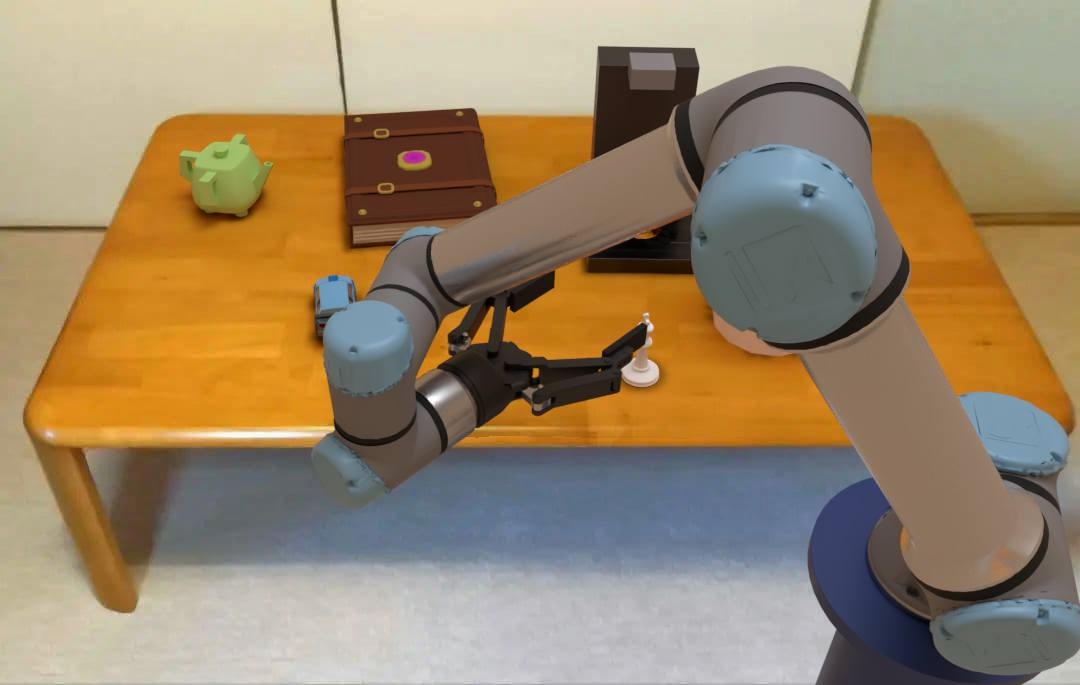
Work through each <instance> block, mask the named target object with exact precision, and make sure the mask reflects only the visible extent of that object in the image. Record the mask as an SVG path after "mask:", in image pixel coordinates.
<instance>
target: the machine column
mask: <svg viewBox="0 0 1080 685" xmlns="http://www.w3.org/2000/svg"><path fill="white" fill-rule="evenodd" d="M596 51H597V52H596V66H595V67H596V68H595V84H594V100H593V101H594V102H593V118H592V119H593V120H592V131H591V132H592V134H591V150H590V161H591V160H593V159H595V158H597V157H599V156H601V155H603V154H605V153H607V152H609V151H612V150H614V149H616V148H618V147H620V146H622V145H624V144H626V143H628V142H630V141H632V140H635V139H637V138H639V137H641V136H643V135H645V134H647V133H649V132H651V131H653V130H656V129H658V128H660V127H662V126H664V125H666V124H668V123H669V120H670V117H671V114H672V111H673V109H674V107H675V106H677V105H679V104H681V103H683V102H685V101H687V100H689V99H691V98H693V97H695V96H697V92H698V91H697V90H698V83H699V76H700V70H701V69H700V68H701V67H700V63H699V58H698V55H697V51H696V48H695V47H672V46H671V47H666V46H665V47H663V46H654V47H653V46H618V45H617V46H616V45H615V46H614V45H613V46H611V45H610V46H609V45H598V46H597V50H596Z"/></svg>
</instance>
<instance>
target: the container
mask: <svg viewBox="0 0 1080 685" xmlns="http://www.w3.org/2000/svg"><path fill="white" fill-rule="evenodd" d="M712 318H713V327H714V328H715V329H716V330H717V331H718V332H719V333H720V334H721V336H722V337H723V338H724V339H725V340H726V342H728V343H729V344H732V345H734V346H736V347H738V348H740V349H742V350H744V351H746V352H748V353H749V354H755V355H756V354H757V355H763V356H770V357H778V358H779V357H783V356H787V355H792V354H794V353H786V352H781V351H778V350H775V349H773V348H771V347H769V346H768V345H766V344H765V343H764V342H763V341H762V339H758V338H757V336H756V335H757V333H755V332H752V331H750V330H746V331H744V332H741V331H739V330H738V329H736V328H734V327H732V326H731V325H729V324H728V323H727V322H725V321H724V320H723V319H722V318H721V317H720V316H719V315H717V314H716V312H715V311H714V310H713V309H712Z"/></svg>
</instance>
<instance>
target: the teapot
mask: <svg viewBox="0 0 1080 685" xmlns="http://www.w3.org/2000/svg"><path fill="white" fill-rule="evenodd" d="M178 159H179V160H178V161H179V176H180V177H181V178H184V179H185V180H186V181H188V182H189V183H191V195H192V200H193V201H194V202H193V203H195V205H196V206H197V207H199V208H200V209H201V210H203V211H204V212H205V213H207V214H214V213H221V214H233V215H235V216H236V217H238V218H241V217H245V216H247V215H248V214H249V211H248V210H249V209H250V208H252V206H253V205H254V204H255V203H256V202H257V200H259V198H260V197H261V193H262V191H263V188H264V187H265V186H266V183H267V181H268V178H269V176H270V173H271V172H272V169H273V167H274V165H275V164H274V162H271V161H267V160H266V161H264V163H263V165H262V164H261V162H260V160H259V159H258V157H257V156H256V154H255V152H254V150H253V149H252V147H250V145H249V142H248V138H247V136H246V134H242V133H236V134H235V135H234V136H233V137H232V138H231V140H230V141H214V142H211V143H209V144H208V145H207V146H205V148H204V149H203V150H201V151H193V150H186V149H183V150H182V151H181V152H180V153H179V158H178ZM192 163H194V164H192Z"/></svg>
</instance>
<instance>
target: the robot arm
mask: <svg viewBox="0 0 1080 685" xmlns="http://www.w3.org/2000/svg"><path fill="white" fill-rule="evenodd" d="M872 154H873V138H872V132H871V127H870V123H869V120H868V117H867V114H866V112H865V110H864V108H863V107H862V105H861V103H860V102H859V100H858V99H857V97H856V95H854V94H853V93H852V92H851V91H850V89H849V88H848V87H847V86H846V85H845V84H843V83H842V82H841V81H840V80H838V79H836V78H834V77H832V76H830V75H828V74H827V73H824V72H823V71H820V70H817V69H813V68H809V67H805V66H796V65H795V66H794V65H782V66H781V65H780V66H773V67H767V68H762V69H758V70H755V71H751V72H748V73H745V74H743V75H740V76H738V77H735V78H732V79H730V80H728V81H726V82H723V83H720V84H718V85H716V86H713V87H712V88H709V89H707V90H705V91H703V92H702V93H699V94H696V96H695V97H693V98H691V99H689V100H687V101H685V102H683V103H681V104H679V105H677V106H675V107H674V109H673V111H672V114H671V117H670V120H669V123H668V124H666V125H664V126H662V127H660V128H658V129H656V130H653V131H651V132H649V133H647V134H645V135H643V136H641V137H639V138H637V139H635V140H632V141H630V142H628V143H626V144H624V145H622V146H620V147H618V148H616V149H614V150H612V151H609V152H607V153H605V154H603V155H601V156H599V157H597V158H595V159H593V160H591V159H590V160H589V161H586V162H584V163H583V164H579V165H578V166H576V167H574V168H572V169H570V170H567V171H565V172H564V173H562V174H560V175H557V176H555V177H553V178H550V179H549V180H546V181H544V182H542V183H540V184H538V185H536V186H534V187H532V188H530V189H528V190H526V191H524V192H521V193H519V194H517V195H514V196H513V197H511V198H509V199H507V200H505V201H503V202H501V203H499V204H498V203H497V205H496V206H494V207H492V208H490V209H488V210H486V211H484V212H482V213H479V214H477V215H475V216H473V217H471V218H469V219H467V220H465V221H463V222H461V223H458V224H456V225H454V226H452V227H450V228H448V229H446V230H443V229H441V228H437V227H423V226H419V227H415V228H412V229H411V230H409V231H407V232H406V233H404V234H403V235H402V236H401V238H400V239H399V240H398V242H397V243H396V244H393V246H392V247H390V250H389V251H388V253H386V255H385V258H384V260H383V263H382V266H381V267H380V269H379V271H378V273H377V275H376V277H375V278H374V280H373V282H372V284H371V286H370V287H369V289H368V290H367V293H366V294H365V296H364V297H363V300H360V301H356V302H355V303H351V304H349V305H347V306H345V308H344V309H343V310H342V311H340V312H335V313H334V314H333V315H332V316H331V317H330V318H329V320H328V321H327V323H326V325H325V328H324V332H323V339H322V342H323V343H322V345H323V353H322V357H323V361H322V362H323V368H324V372H325V374H326V380H327V387H328V391H329V392H328V393H329V398H330V403H331V409H332V414H333V419H332V420H333V429H334V430H333V431H332V432H329V433H326V434H325V436H324V437H322V438H321V439H320V440H319V441H317V442H316V443H315V444H314V446H313V448H312V451H311V452H310V461H311V465H312V468H313V471H314V473H315V476H316V477H317V479H318V481H319V482H320V484H321V486H322V487H323V488H324V490H325V491H326V493H327V494H328V495H329V496H330V497H331V498H332V499H333V500H334V501H335V502H336V503H337V504H338V505H340V506H341V507H343V508H346V509H347V510H352V511H356V510H362V509H364V508H365V507H367V506H368V505H370V504H371V503H373V502H375V501H376V500H378V499H380V498H381V497H383V496H384V495H389V494H390V493H392V491H393V490H395V488H397V487H399V486H400V485H401V484H403V483H404V482H405V481H407V480H408V479H410V478H411V477H412V476H414V475H415V474H416V473H418V472H419V471H420V470H422V469H423V468H425V467H426V466H427V465H429V464H430V463H431V462H433V461H434V460H436V459H437V458H439V457H440V456H441V455H443V454H445V452H447V451H448V450H450V449H452V447H453V446H455V445H457V444H458V443H459V442H461V441H462V440H464V439H466V438H467V437H468V436H469V435H471V434H472V433H473V432H474V431H475V430H476V429H480V428H482V427H483V426H484V425H486V424H487V423H489V422H490V421H491V420H493V419H494V418H496V417H497V416H498V415H500V414H502V412H504V410H506V408H507V407H508V406H509V405H510V404H511V403H513V402H515V401H518V400H522V399H523V400H524V401H525V402H526V403H527V404H528V405H529V406H530V407H531V414H532V415H533V416H535V417H541V416H543V415H544V414H546V413H548V412H550V411H552V410H553V409H556V408H561V407H564V406H568V405H573V404H577V403H581V402H586V401H590V400H594V399H598V398H599V399H600V398H603V397H607V396H611V395H616V394H619V393H620V392H621V388H622V380H623V378H622V371H621V369H622V368H623V367H625V366H626V365H627V364H629V363H630V362H631V361H632V359H633V358H634V354H635V352H638V349H640V348H641V347H642V346H644V345H645V343H646V335H647V327H648V325H646V324H644V323H643V321H641V322H642V323H641V324H639V323H638V324H639V325H638V324H637V325H638V326H635V327H634V328H632V329H630V331H628V332H626V333H625V334H623V335H622V336H621V337H620V338H618V339H616V340H615V341H614V342H612V343H611V344H609V345H608V346H606V347H605V348H604V349H602V350H601V356H600V357H598V356H597V357H579V358H577V357H576V358H559V359H558V358H557V359H548V358H546V356H533V355H532V354H531V353H529V352H528V351H526V350H523V349H521V348H520V347H519V346H518V345H517V344H516V343H514V342H513V341H512V340H510V341H505V340H504V335H505V330H506V329H505V328H506V322H507V314H508V308H509V311H511V312H512V313H514V314H516V313H517V312H519V311H521V310H522V309H524V308H525V307H527V306H528V305H529V304H531V303H533V302H535V301H536V300H538V299H539V298H540V297H542V296H544V295H545V294H547V293H548V292H550V291H551V290H553V289H555V281H556V270H558V269H561V268H564V267H566V266H568V265H571V264H573V263H575V262H578V261H580V260H583V259H585V258H587V257H588V256H590V255H593V254H595V253H597V252H600V251H602V250H605V249H607V248H610V247H612V246H614V245H617V244H619V243H622V242H624V241H627V240H629V239H631V238H637V237H639V236H641V235H644V234H646V233H648V232H652V231H651V230H653V229H656V228H658V227H661V226H663V225H665V224H668V223H670V222H673V221H675V220H678V219H680V218H683V217H685V216H687V215H690V214H692V221H691V261H692V268H693V273H694V274H693V277H694V279H695V282H696V284H697V286H698V290H699V292H700V293H701V295H702V297H703V299H704V300H705V301H706V303H707V304H708V306H709V307H710V308H711V309H712V311H713V310H714V311H715V312H716V314H717V315H719V316H720V317H721V318H722V319H723V320H724V321H725V322H727V323H728V324H729V325H731V326H732V327H734V328H736V329H738V330H739V331H741V332H744V331H746V330H750V331H752V332H755V333H757V335H756V336H757V338H758V339H762V341H763V342H764V343H765V344H766V345H768V346H769V347H771V348H773V349H775V350H778V351H781V352H786V353H793V354H795V355H796V356H797V358H798V360H799V361H800V363H801V365H802V366H803V368H804V369H805V371H806V372H807V375H808V376H809V377H810V379H811V381H812V382H813V384H814V385H815V387H816V388H817V390H818V392H819V393H820V395H821V396H822V398H823V400H824V401H825V403H826V404H827V406H828V408H829V409H830V411H831V412H832V415H833V416H834V417H835V419H836V420H837V422H838V424H839V425H840V427H841V428H842V430H843V431H844V433H845V435H846V436H847V438H848V439H849V441H850V443H851V444H852V445H853V447H854V449H855V450H856V452H857V454H858V456H859V457H860V459H861V460H862V462H863V464H864V465H865V467H866V468H867V470H868V471H869V473H870V475H871V476H872V477H873V478H874V479H875V481H876V483H877V484H878V486H879V487H880V489H881V491H882V492H883V494H884V495H885V497H886V499H887V500H888V502H889V503H890V506H889V507H888V508H891V507H892V508H891V509H890V510H888V511H887V512H886V513H885V514H884V515H882V517H881V518H880V519H879V520H878V521H877V523H876V524H875V526H874V527H873V529H872V531H871V534H870V536H869V539H868V542H867V545H866V563H867V568H868V571H869V574H870V576H871V578H872V580H873V582H874V583H875V585H876V587H877V588H878V589H879V591H880V592H881V593H882V594H883V596H884V597H885V598H886V599H887V600H888V601H889V602H890V603H892V604H893V605H894V606H895V607H896V608H898V609H899V610H900V611H902V612H903V613H905V614H906V615H908V616H910V617H911V618H913V619H915V620H917V621H919V622H922V623H924V624H927V625H929V626H930V628H929V629H930V631H931V633H932V634H933V641H934V645H935V647H936V649H937V650H938V652H939V653H940V654H941V655H942V656H943V657H944V658H945V659H947V660H948V661H950V662H951V663H953V664H955V665H957V666H959V667H962V668H965V669H967V670H971V671H976V672H982V673H986V674H993V675H1023V674H1031V673H1037V672H1041V671H1042V672H1045V671H1049V670H1051V669H1054V668H1057V667H1059V666H1061V665H1063V664H1065V663H1066V662H1067V661H1068V660H1070V659H1071V658H1073V657H1074V656H1076V655H1077V653H1078V652H1079V651H1080V596H1079V593H1078V588H1077V584H1076V578H1075V572H1074V568H1073V564H1072V558H1071V553H1070V548H1069V543H1068V538H1067V533H1066V528H1065V523H1064V520H1063V516H1062V511H1061V505H1060V500H1059V495H1058V489H1057V488H1058V487H1057V486H1058V479H1059V475H1060V473H1061V472H1062V471H1063V470H1064V469H1065V468H1066V467H1067V464H1068V462H1069V461H1068V458H1069V455H1070V452H1071V444H1070V440H1069V437H1068V435H1067V432H1066V431H1065V429H1064V428H1063V427H1062V425H1061V423H1059V422H1058V421H1057V419H1055V418H1054V417H1053V416H1051V415H1050V413H1048V412H1046V411H1045V410H1043V409H1041V408H1038V407H1037V406H1036V405H1034V404H1033V403H1031V402H1029V401H1026V400H1025V399H1021V398H1020V397H1016V396H1013V395H1011V394H1005V393H1000V392H995V391H970V392H965V393H961V394H960V395H957V392H956V391H955V389H954V388H953V385H952V383H951V382H950V380H949V378H948V376H947V374H946V373H945V371H944V369H943V367H942V364H940V361H939V359H938V357H937V356H936V354H935V352H934V350H933V348H932V346H931V345H930V343H929V341H928V339H927V337H926V335H925V334H924V332H923V331H922V328H921V327H920V324H919V323H918V320H917V319H916V317H915V315H914V313H913V311H912V310H911V307H910V306H909V304H908V302H907V301H906V299H905V297H904V294H905V292H906V291H907V289H908V286H909V284H910V282H911V281H910V280H911V277H912V264H911V260H910V258H909V255H908V254H907V252H906V249H905V248H904V246H903V244H902V242H901V240H900V238H899V237H898V235H897V232H896V231H895V229H894V227H893V224H892V223H891V221H890V219H889V217H888V215H887V213H886V211H885V209H884V207H883V206H882V204H881V202H880V199H879V197H878V194H877V192H876V188H875V185H874V181H873V178H874V177H873V155H872ZM466 307H468V309H467V310H466V313H465V314H464V316H463V318H462V319H461V321H460V322H459V325H457V326H456V327H455V328H453V329H452V330H451V331H450V332H448V333H447V354H448V355H449V356H450V357H449V358H447V359H446V360H444V361H442V362H440V363H439V364H438V365H437V366H436V368H432V369H429V370H428V371H426V372H425V373H423V374H421V375H420V376H418V374H419V371H420V369H421V368H422V365H423V363H424V362H425V359H426V358H427V357H426V356H427V354H428V353H429V350H430V348H431V346H432V344H433V342H434V340H435V338H436V336H437V333H438V332H439V330H440V327H441V326H442V323H443V322H444V319H445V318H446V317H447V316H449V315H451V314H453V313H455V312H458V311H461V310H463V309H465V308H466ZM491 308H493V311H492V319H491V325H490V328H489V333H488V334H489V335H488V341H487V342H480V343H472V342H473V340H474V338H475V337H476V335H477V333H478V331H479V330H480V328H481V326H482V324H483V323H484V320H485V319H486V317H487V315H488V313H489V312H490V309H491ZM534 369H538V371H537V372H538V373H537V374H538V375H537V376H534ZM888 508H887V509H888ZM1042 672H1041V673H1042Z"/></svg>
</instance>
